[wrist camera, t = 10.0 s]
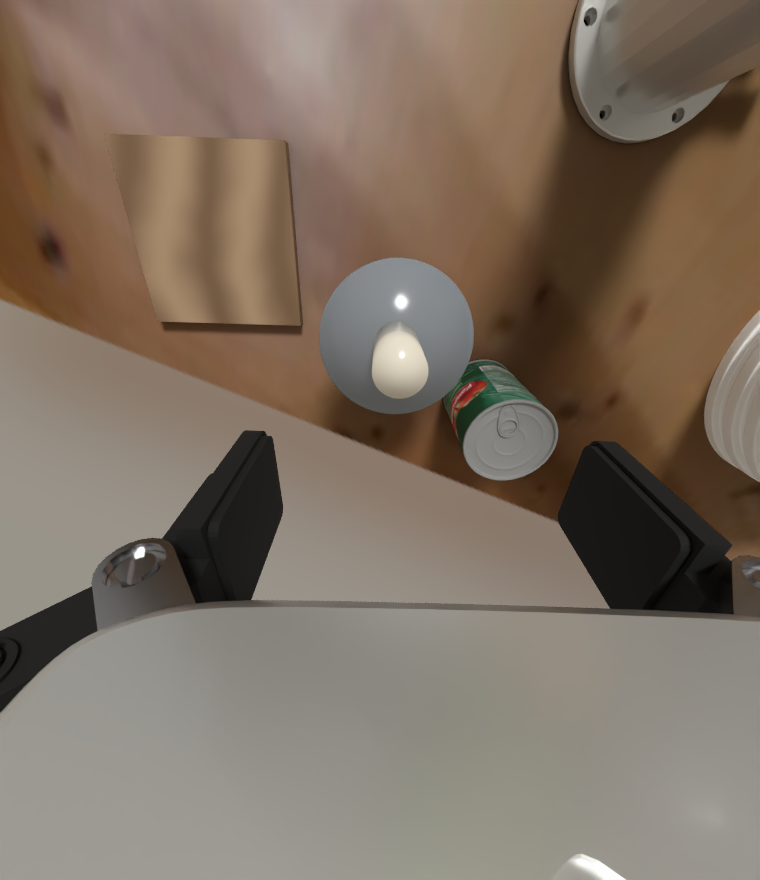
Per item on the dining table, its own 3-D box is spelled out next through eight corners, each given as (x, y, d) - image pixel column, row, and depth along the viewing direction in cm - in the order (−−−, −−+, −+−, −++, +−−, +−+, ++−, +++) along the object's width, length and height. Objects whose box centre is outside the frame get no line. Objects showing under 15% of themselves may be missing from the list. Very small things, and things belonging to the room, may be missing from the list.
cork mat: (288, 143, 28) (285, 140, 27) (302, 323, 35) (300, 325, 34) (112, 137, 28) (103, 133, 27) (163, 319, 35) (157, 321, 34)
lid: (480, 258, 23) (518, 264, 17) (459, 408, 28) (481, 455, 22) (315, 256, 23) (291, 261, 17) (326, 407, 28) (311, 453, 22)
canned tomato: (516, 416, 40) (558, 472, 30) (448, 431, 41) (468, 489, 31) (512, 350, 36) (559, 390, 27) (437, 368, 37) (457, 412, 27)
